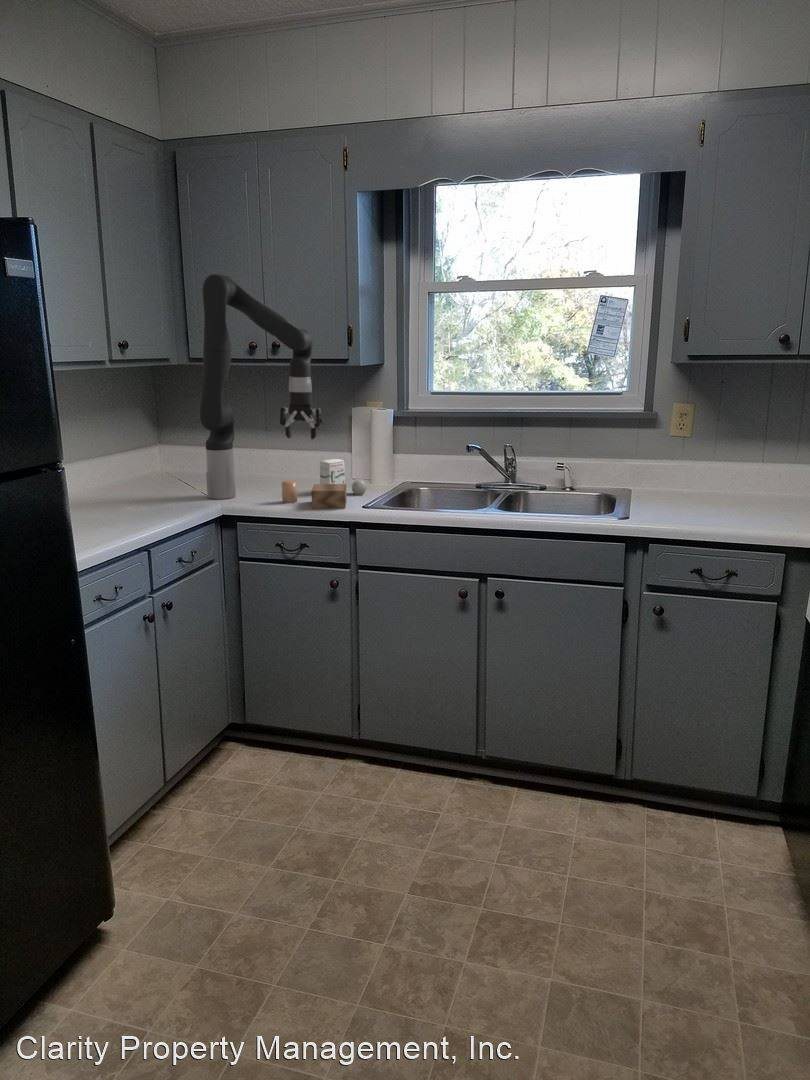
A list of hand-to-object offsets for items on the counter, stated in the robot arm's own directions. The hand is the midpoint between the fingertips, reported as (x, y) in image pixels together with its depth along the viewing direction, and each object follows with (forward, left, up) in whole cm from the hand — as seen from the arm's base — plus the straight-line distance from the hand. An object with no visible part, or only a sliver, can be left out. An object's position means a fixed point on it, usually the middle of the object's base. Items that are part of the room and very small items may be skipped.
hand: (301, 438), depth 272 cm
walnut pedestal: (+10, -9, -22) cm, 25 cm away
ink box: (+10, +13, -22) cm, 27 cm away
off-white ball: (+19, +7, -19) cm, 28 cm away
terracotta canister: (-4, -3, -22) cm, 22 cm away
